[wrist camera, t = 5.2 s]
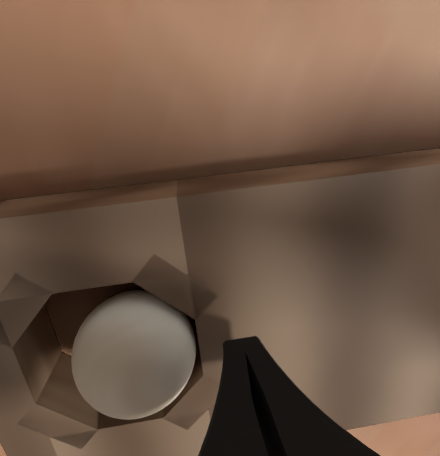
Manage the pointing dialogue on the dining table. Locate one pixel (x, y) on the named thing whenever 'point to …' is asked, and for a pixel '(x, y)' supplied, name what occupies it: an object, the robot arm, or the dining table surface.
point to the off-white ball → (133, 355)
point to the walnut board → (232, 294)
